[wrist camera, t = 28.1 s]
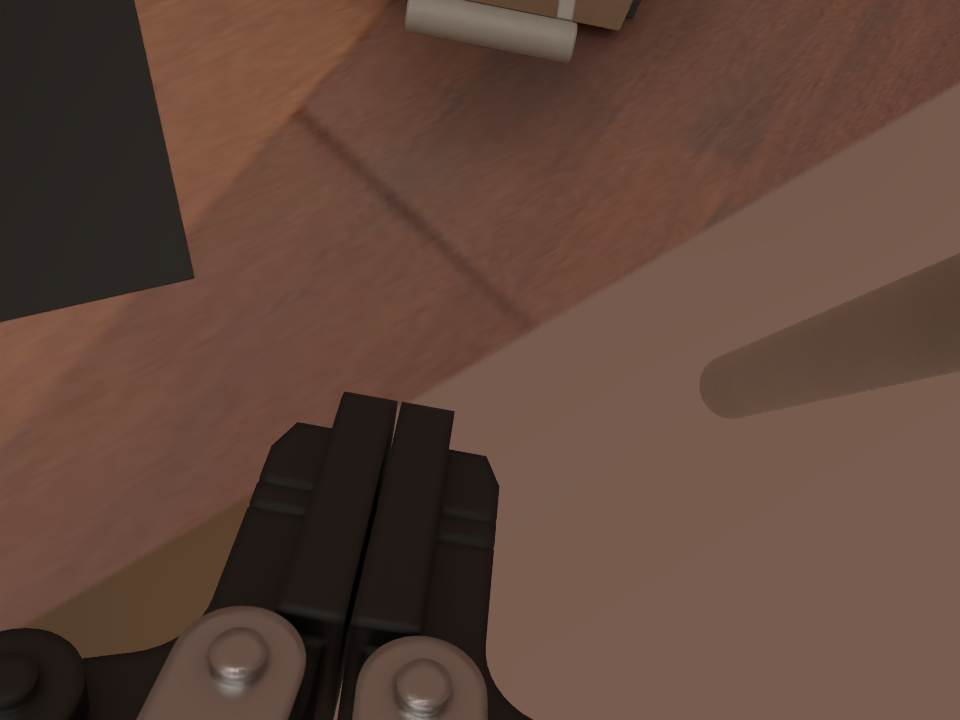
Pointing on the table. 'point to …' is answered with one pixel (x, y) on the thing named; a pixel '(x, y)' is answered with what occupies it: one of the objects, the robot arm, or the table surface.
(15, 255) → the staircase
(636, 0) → the cabinet
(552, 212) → the table surface
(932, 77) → the table surface
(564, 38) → the drawer
